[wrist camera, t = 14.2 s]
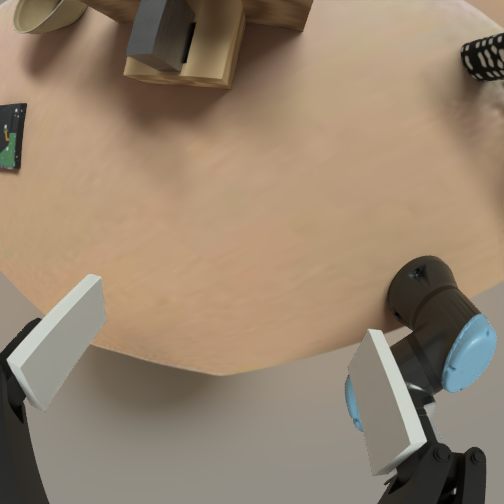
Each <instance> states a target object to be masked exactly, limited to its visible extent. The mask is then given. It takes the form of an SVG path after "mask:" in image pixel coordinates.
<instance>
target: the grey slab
mask: <svg viewBox="0 0 504 504" xmlns="http://www.w3.org/2000/svg"><path fill="white" fill-rule="evenodd" d="M194 18H195V13H194V11H193V10H192V8H191V7H190V6H189V4H188V3H187V1H186V0H141V2H140V5H139V8H138V11H137V14H136V18H135V21H134V24H133V28H132V31H131V35H130V38H129V42H128V46H127V50H126V54H125V55H126V56H129V57H131V58H133V59H135V60H137V61H139V62H142V63H144V64H146V65H148V66H150V67H152V68H154V69H156V70H158V71H160V72H181V71H182V66H183V64H187V59H188V55H189V51H190V46H191V42H192V38H193V35H194V31H195V29H194V28H193V27H192V25H193V22H194Z"/></svg>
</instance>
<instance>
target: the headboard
mask: <svg viewBox="0 0 504 504" xmlns="http://www.w3.org/2000/svg"><path fill="white" fill-rule="evenodd" d="M78 1H80V2H82V3H84V4H86V5H88V6H90V7H92V8H93V9H95V10H97V11H99V12H101V13H102V14H104V15H106V16H108V17H109V18H111V19H113V20H115V21H116V22H118V23H126V22H134V21H135V18H136V14H137V11H138V8H139V5H140V2H141V0H78ZM186 1H187V3H188V4H189V6H190V7H191V8H192V10H193V11H194V13H195V18H194V22H193V25H192V27H193V28H194V29H195V31H194V35H193V38H192V42H191V46H190V51H189V55H188V59H187V64H183V66H182V71H181V72H160V71H158V70H156V69H154V68H152V67H150V66H148V65H146V64H144V63H142V62H139V61H137V60H135V59H133V58H131V57H129V56H128V57H127V61H126V66H125V70H124V76H127V77H130V78H133V79H136V80H139V81H142V82H145V83H148V84H174V85H190V86H202V87H212V88H221V89H229V90H231V88H232V83H233V78H234V74H235V69H236V64H237V60H238V55H239V51H240V46H241V42H242V38H243V34H244V29H245V25H246V22H248V23H256V24H263V25H270V26H276V27H281V28H287V29H292V30H297V31H301V32H303V29H304V26H305V24H306V21H307V18H308V15H309V12H310V9H311V6H312V3H313V0H186Z"/></svg>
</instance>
